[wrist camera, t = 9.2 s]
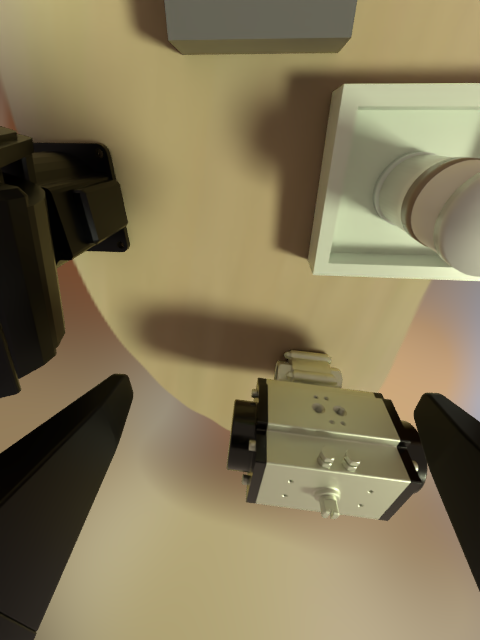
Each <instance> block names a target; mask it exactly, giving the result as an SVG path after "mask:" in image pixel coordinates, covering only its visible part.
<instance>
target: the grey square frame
mask: <svg viewBox="0 0 480 640" xmlns="http://www.w3.org/2000/svg"><path fill="white" fill-rule="evenodd" d="M164 3H165V13H166V23H167V33H168V41H169V42H170V43H171V44H172V45H173V46H174V47H175V48H176V49H177V50H178V51H179V52H180V53H181V54H182V55H199V54H281V53H338V52H339V51H340V50H341V49H342V48H343V46H344V45H345V44H346V43H347V42H348V41H349V39H350V38H351V35H352V29H353V23H354V17H355V11H356V5H357V0H164Z"/></svg>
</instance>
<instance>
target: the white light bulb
mask: <svg viewBox="0 0 480 640" xmlns="http://www.w3.org/2000/svg"><path fill="white" fill-rule="evenodd" d="M372 199H373V206H374V209H375V211H376V212H377V214H378V215H379V216H380V217H381V218H382V219H384V220H385V221H387V222H388V223H390V224H392V225H395V226H398V227H399V228H400V229H402V230H403V231H405V232H406V233H407V234H408V235H409V236H411V237H412V238H413V239H415V240H416V241H418V242H419V243H421V244H422V245H424V246H426V247H429V248H430V249H432V250H433V251H435V252H436V253H438V255H439V256H440V258H441V259H442V260H444V261H445V262H446V263H448V264H449V265H450V266H452V267H453V268H455V269H456V270H458V271H460V272H461V273H464V274H466V275H470V276H476V277H480V158H470V157H446V156H439V155H437V154H434V153H429V152H411V153H407V154H404V155H402V156H400V157H398V158H396V159H395V160H394V161H392V162H391V163H390V164H389V165H388V166H387V167H386V168H385V169H384V170H383V171H382V173H381V174H380V175H379V177H378V179H377V181H376V183H375V186H374V189H373V198H372Z"/></svg>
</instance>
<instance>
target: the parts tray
mask: <svg viewBox="0 0 480 640" xmlns="http://www.w3.org/2000/svg"><path fill="white" fill-rule="evenodd" d="M411 152H429V153H434V154H437V155H439V156H446V157H470V158H480V83H410V84H343V85H342V86H340V87H339V88H337V89H336V90H334V91H333V92H332V98H331V105H330V111H329V118H328V125H327V132H326V139H325V145H324V152H323V159H322V166H321V173H320V180H319V186H318V193H317V200H316V207H315V214H314V221H313V227H312V234H311V241H310V248H309V255H308V262H309V265H310V268H311V271H312V273H313V275H328V276H355V277H383V278H411V279H439V280H467V281H480V277H476V276H470V275H466V274H464V273H461V272H460V271H458V270H456V269H455V268H453V267H452V266H450V265H449V264H448V263H446V262H445V261H444V260H442V259H441V258H440V256H439V255H438V253H436V252H435V251H433V250H432V249H430V248H429V247H426V246H424V245H422V244H421V243H419V242H418V241H416V240H415V239H413V238H412V237H411V236H409V235H408V234H407V233H406V232H405V231H403V230H402V229H400V228H399V227H398V226H395V225H392V224H390V223H388V222H387V221H385V220H384V219H382V218H381V217H380V216H379V215H378V214H377V212H376V211H375V209H374V206H373V199H372V198H373V189H374V186H375V183H376V181H377V179H378V177H379V175H380V174H381V173H382V171H383V170H384V169H385V168H386V167H387V166H388V165H389V164H390V163H391V162H392V161H394V160H395V159H396V158H398V157H400V156H402V155H404V154H407V153H411Z"/></svg>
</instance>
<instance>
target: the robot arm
mask: <svg viewBox="0 0 480 640" xmlns="http://www.w3.org/2000/svg"><path fill="white" fill-rule="evenodd" d="M99 149H100V150H101V151H102V152H103V157H102V158H101V157H100V156H99V154H98V150H99ZM127 224H128V221H127V216H126V212H125V207H124V202H123V197H122V193H121V188H120V184H119V183H118V182H117V181H116V178H115V173H114V168H113V164H112V159H111V155H110V151H109V149H108V148H107V147H106V146H105V145H104V144H100V143H33V141H32V138H31V137H28V136H24V135H20V134H17V133H16V131H14V130H11V129H8V128H5V127H2V126H0V398H2V397H6V396H10V395H15V394H17V393H19V392H20V391H21V387H20V384H19V380H18V379H20V378H21V377H23V376H25V375H27V374H29V373H31V372H32V371H34V370H36V369H38V368H40V367H41V366H43V365H45V364H46V363H47V362H48V361H49V360H50V359H52V358H53V357H54V356H55V355H56V348H57V347H58V346H59V344H60V342H61V339H62V338H63V336H64V334H65V322H64V315H63V308H62V302H61V295H60V288H59V282H58V276H57V268H58V267H60V266H61V265H63V264H64V263H66V262H68V261H69V260H72V259H74V258H75V257H77V256H78V255H80V254H82V253H83V252H85V251H105V252H125V251H126V250H127V249H129V247H130V242H129V238H128V233H127V228H126V225H127ZM119 241H120V242H122V243H123V244H124V247H122V246H121V245H120V243H119ZM132 400H133V390H132V387H131V383H130V380H129V377H128V376H127V375H126V374H113V375H111V376H110V377H108V378H107V379H105V380H104V381H103V382H101V383H100V384H98V385H97V386H96V387H94V388H93V389H91V390H90V391H88V392H87V393H86V394H84V395H83V396H81V397H80V398H78V399H77V400H76V401H74V402H73V403H71V404H70V405H68V406H67V407H66V408H64V409H63V410H61V411H60V412H59V413H57V414H56V415H54V416H53V417H51V418H50V419H49V420H47V421H46V422H44V423H43V424H41V425H40V426H39V427H37V428H36V429H34V430H33V431H32V432H30V433H29V434H28V435H26V436H24V437H23V438H22V439H20V440H19V441H18V442H16V443H15V444H13V445H12V446H10V447H9V448H8V449H6V450H5V451H3V452H2V453H0V640H34V638H35V636H36V631H37V630H38V628H39V626H40V623H41V621H42V619H43V617H44V615H45V612H46V610H47V608H48V605H49V603H50V601H51V598H52V596H53V594H54V592H55V589H56V587H57V585H58V582H59V580H60V578H61V575H62V573H63V571H64V569H65V566H66V564H67V562H68V559H69V557H70V555H71V552H72V550H73V548H74V545H75V543H76V541H77V538H78V536H79V534H80V532H81V530H82V527H83V525H84V523H85V520H86V518H87V516H88V513H89V511H90V509H91V506H92V504H93V502H94V500H95V497H96V495H97V493H98V490H99V488H100V486H101V484H102V481H103V479H104V477H105V474H106V472H107V470H108V467H109V465H110V463H111V461H112V458H113V456H114V454H115V451H116V449H117V446H118V444H119V441H120V438H121V435H122V431H123V428H124V425H125V422H126V419H127V416H128V413H129V409H130V406H131V403H132ZM414 420H415V423H416V426H417V430H418V433H419V436H420V440H421V443H422V447H423V450H424V453H425V457H426V460H427V463H428V466H429V469H430V472H431V474H432V477H433V479H434V482H435V484H436V487H437V489H438V491H439V494H440V496H441V499H442V501H443V504H444V506H445V509H446V511H447V513H448V516H449V518H450V521H451V523H452V526H453V528H454V530H455V533H456V535H457V538H458V540H459V542H460V545H461V547H462V550H463V552H464V555H465V557H466V559H467V562H468V564H469V567H470V569H471V572H472V574H473V576H474V579H475V581H476V584H477V586H478V588H479V591H480V422H479V421H478V420H476V419H475V418H474V417H472V416H471V415H469V414H468V413H467V412H465V411H464V410H462V409H461V408H460V407H458V406H457V405H456V404H454V403H453V402H451V401H450V400H449V399H447V398H446V397H445V396H443V395H441V394H439V393H425V394H423V395H422V397H421V399H420V401H419V402H418V404H417V406H416V408H415V410H414Z"/></svg>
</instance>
